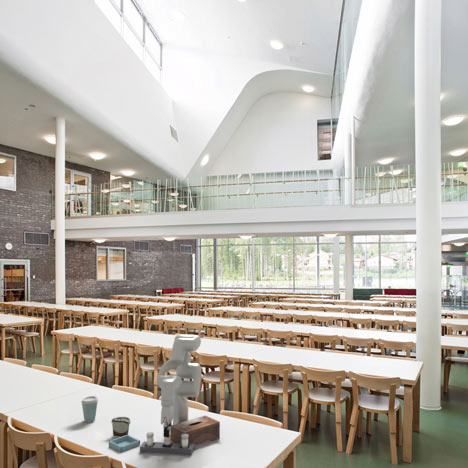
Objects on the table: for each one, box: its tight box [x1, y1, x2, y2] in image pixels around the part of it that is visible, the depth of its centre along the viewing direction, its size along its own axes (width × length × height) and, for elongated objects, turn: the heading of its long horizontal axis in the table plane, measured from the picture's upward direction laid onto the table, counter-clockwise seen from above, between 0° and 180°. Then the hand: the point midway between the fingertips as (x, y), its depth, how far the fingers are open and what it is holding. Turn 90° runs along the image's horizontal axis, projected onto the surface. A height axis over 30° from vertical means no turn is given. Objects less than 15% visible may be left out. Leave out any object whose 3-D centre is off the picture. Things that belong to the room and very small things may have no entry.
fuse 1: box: [146, 431, 155, 447], centre depth 238 cm, size 4×4×9 cm
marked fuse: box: [163, 425, 172, 445], centre depth 237 cm, size 4×4×9 cm
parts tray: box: [108, 434, 141, 453], centre depth 244 cm, size 13×13×4 cm
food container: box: [111, 416, 131, 438], centre depth 261 cm, size 12×6×10 cm, turn 74°
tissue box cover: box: [171, 415, 221, 446], centre depth 253 cm, size 26×14×10 cm, turn 131°
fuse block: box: [139, 441, 195, 456], centre depth 236 cm, size 29×7×4 cm, turn 83°
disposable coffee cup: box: [81, 395, 99, 423], centre depth 285 cm, size 11×11×15 cm
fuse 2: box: [181, 434, 189, 448], centre depth 235 cm, size 4×4×9 cm
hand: (167, 434), depth 237 cm, fingers closed on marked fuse, 4 cm apart
